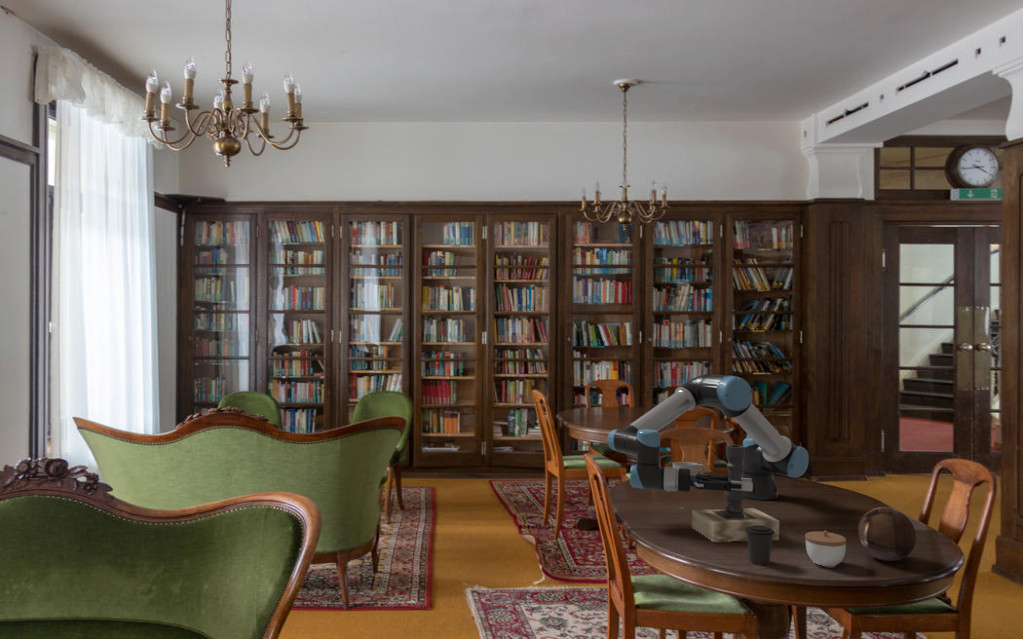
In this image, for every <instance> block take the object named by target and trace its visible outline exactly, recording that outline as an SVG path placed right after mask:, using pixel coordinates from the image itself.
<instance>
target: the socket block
mask: <svg viewBox="0 0 1023 639" xmlns="http://www.w3.org/2000/svg"><path fill="white" fill-rule="evenodd" d="M742 508H743V512H742V513H743V514H744V518H730V519H728V518H727V517H725V516H724V513H725V512H726V510H725V508H714V509H710V508H709V509H692V510H691V529H693V530H694V529H695V530H694V531H696V532H697V531H698V532H699V534H700V533H701V534H702V536H703V535H704V536H705V537H704V536H703V537H704V538H706V537H707V538H708V539H707V538H706V539H707V540H709V539H710V540H711V541H710V540H709V541H710V542H712V541H713V542H716V543H730V542H731V541H741V542H748V540H747V532H746V531H745V529H746V527H748V526H754V525H760V526H765V527H768V528H771V529H773V530H774V532H775V533H774V534H773V538H772V541H779V540H780V520H778V519H776V518H775V517H772V516H771V515H769V514H766V513H765V512H763V511H761V510H758V509H757V508H755V507H747V508H746V507H742ZM698 532H697V533H698ZM701 534H700V535H701ZM727 541H728V542H727ZM713 542H712V543H713ZM731 543H732V542H731Z"/></svg>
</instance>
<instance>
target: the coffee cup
mask: <svg viewBox="0 0 1023 639" xmlns="http://www.w3.org/2000/svg"><path fill="white" fill-rule="evenodd" d="M745 531H746V532H747V540H748V541H747V548H748V550H747V551H748V557H749V559H748V560H749V563H751V562H752V563H751V564H753V563H755V564H754V565H757V564H761V565H760V566H765V565H764V564H768V565H769V564H770V559H771V552H772V545H773V540H772V538H773V534H774V533H775V532H774V530H773V529H771V528H768V527H765V526H760V525H754V526H748V527H746V529H745Z"/></svg>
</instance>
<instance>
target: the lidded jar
mask: <svg viewBox="0 0 1023 639" xmlns="http://www.w3.org/2000/svg"><path fill="white" fill-rule="evenodd" d="M804 536H805V537H804V538H805V550H806V553H807V555H808V557H809V558H810V560H811V561H812V562H813V564H814V563H816V564H818V565H822V566H836V565H837V566H838V565H839V564H840V563H841V562H842V561H843V559H844V558H845V555H846V548H847V545H846V544H847V538H846V537H844V536H843V535H841V534H838V533H834V532H828V530H823V531H809V532H806V533H805V535H804ZM816 564H815V565H816ZM818 565H817V566H818ZM822 566H821V567H822ZM837 566H836V567H837Z"/></svg>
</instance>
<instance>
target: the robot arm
mask: <svg viewBox="0 0 1023 639" xmlns="http://www.w3.org/2000/svg"><path fill="white" fill-rule="evenodd" d="M702 406H705V407H713V408H716V409H719V411H721V413H722V414H723V415H724V416H725V417H727V418H729V419H733V420H735V422H736V423H737V424H738V425H739V426H740V427H741V428H742V429H743V431H744V432H745V433H746V434H747V435H748V436H749V437H746V438H744V439H743V441H742V446H744V457H743V460H742V462H741V464H742V465H743V468H742V470H741V481H742V482H741V481H731V482H730V481H728V479H729V474H726V475H722V474H720V475H719V474H707V473H706V474H705V473H703V474H700V472H698V473H699V474H696V475H692V476H691V475H690V469H685V468H680V469H679V470H677V468H673V466H672V467H668V466H665V467H664V466H660V460H661V458H660V454H661V451H660V450H661V436H660V432H659V431H660V430H662V429H664V428H665V427H666V426H667V425H669V424H670V423H672V422H673V421H674V420H676V419H677V418H679V417H680V416H681V415H683V414H684V413H686V412H687V411H693V410H695V409H696V408H698V407H699V408H700V407H702ZM607 444H608V445H607V446H608V447H609V448H610V450H613V451H616V452H618V453H622V454H626V455H632V456H633V457H636V464H632V465H630V469H629V473H630V474H629V482H630V483H629V484H630V486H631V487H632V488H633V489H634V488H635V489H641V490H642V489H643V490H654V491H655V490H656V491H666V492H667V493H671V492H676V491H677V490H678V492H683V493H689V492H690V491H691V487H694V488H696V489H697V490H709V491H710V490H711V491H712V490H713V491H722V492H725V491H728V492H731V490H741V491H744V499H751V500H761V501H769V500H777V499H778V498H779V491H778V487H777V484H776V482H775V478H774V474H776V475H777V474H778V475H781V476H786V477H789V478H800V477H802V476H803V475H804V474H805V472H806V471H807V469H808V466H809V460H810V459H809V452H808V451H807V449H806V448H805V447H803V446H800V445H799V446H798V445H795V444H794V443H793V441H792V440H791V439H790V438H789V437H787V436H784V435H781V434H780V433H779V432H778V431H777V430H776V429H775V427H774V426H772V424H771V423H770V422H769V421H768V420H767V419H766V417H765V416H764V415H763V413H761V411H760V410H759V408H757V407H756V405H754V404H753V393H752V388H751V385H750V384H749V383H748V381H746V380H745V379H744V378H743V377H739V376H736V375H723V374H712V373H705V374H700V375H697V376H695V377H693V378H691V379H689V380H687V381H685V382H684V383H682V384H681V385H679V386H678V387H677V388H675V389H674V393H673V394H671V395H670V396H669V397H668V398H666V399H664V400H663V401H661V403H659V404H657V405H656V406H654V407H653V408H651V409H650V410H649V411H647V412H646V413H644V414H643V415H641V416H640V417H639V418H637V419H635V421H633V422H631V423H630V424H629V425H627V426H625V427H624V428H623V429H620V428H618V429H612V430H611V431H610V432H609V434H608V436H607Z"/></svg>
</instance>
